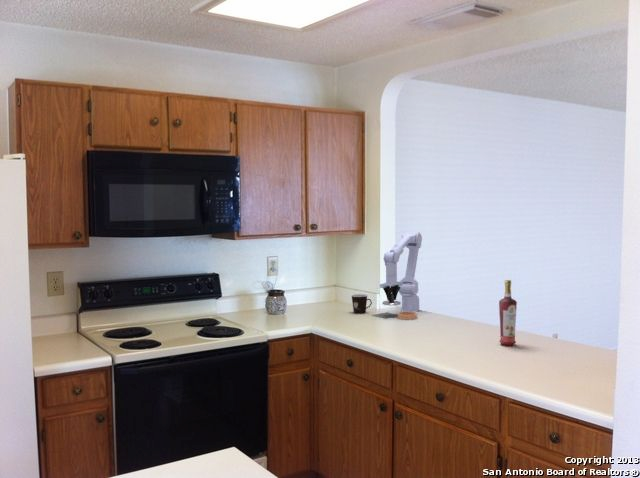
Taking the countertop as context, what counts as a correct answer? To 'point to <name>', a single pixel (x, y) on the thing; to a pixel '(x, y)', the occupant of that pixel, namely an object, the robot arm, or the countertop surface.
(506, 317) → the liquor
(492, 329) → the countertop surface
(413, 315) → the bowl
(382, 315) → the mat
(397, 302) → the lid
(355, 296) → the coffee mug
